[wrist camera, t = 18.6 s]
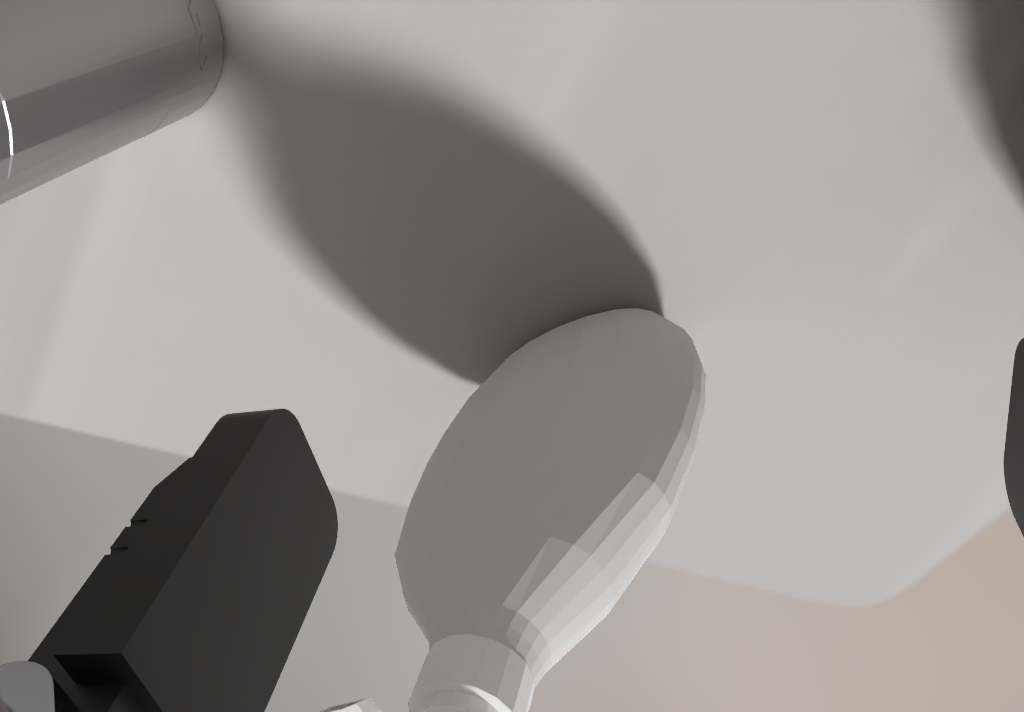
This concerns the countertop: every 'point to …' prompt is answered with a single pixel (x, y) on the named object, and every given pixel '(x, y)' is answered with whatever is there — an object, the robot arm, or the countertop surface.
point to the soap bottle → (545, 504)
